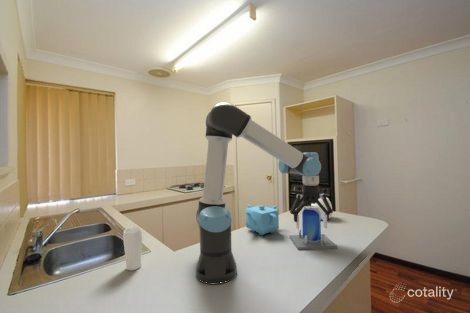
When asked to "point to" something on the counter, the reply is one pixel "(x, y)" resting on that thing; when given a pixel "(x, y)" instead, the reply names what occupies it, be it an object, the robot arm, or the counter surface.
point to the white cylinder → (133, 247)
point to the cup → (324, 206)
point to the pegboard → (304, 245)
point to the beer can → (311, 224)
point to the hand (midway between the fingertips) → (311, 227)
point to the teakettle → (262, 219)
